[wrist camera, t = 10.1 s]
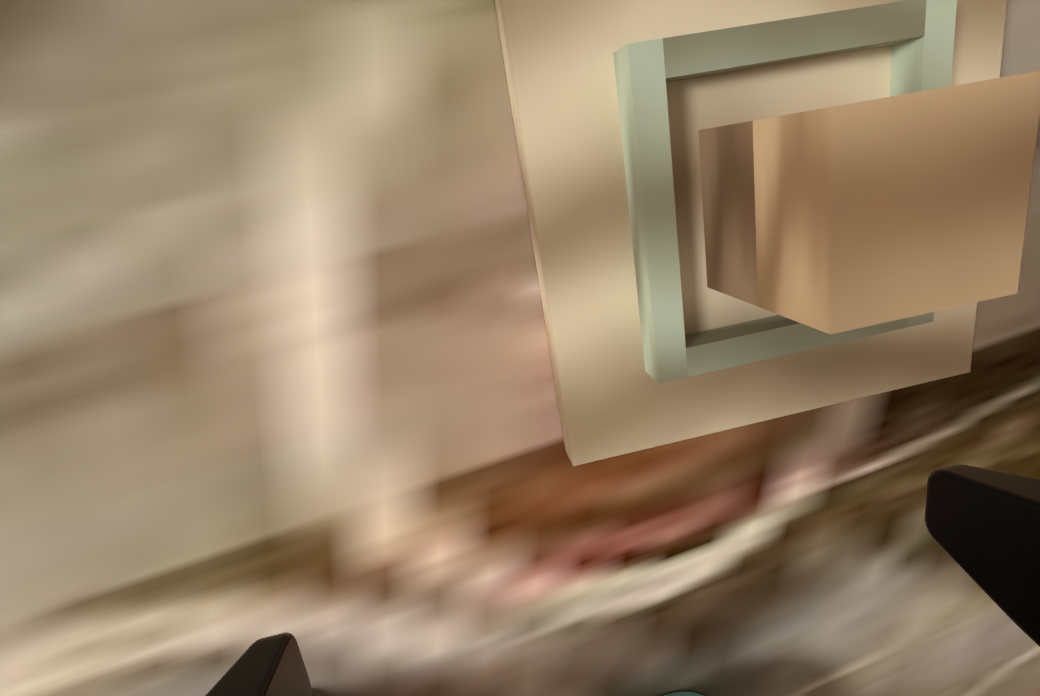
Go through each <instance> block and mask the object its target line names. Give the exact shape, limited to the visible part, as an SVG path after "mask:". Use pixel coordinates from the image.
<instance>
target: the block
mask: <svg viewBox="0 0 1040 696" xmlns="http://www.w3.org/2000/svg"><path fill="white" fill-rule="evenodd" d="M1039 115H1040V71H1036V72H1030V73H1024V74H1019V75H1013V76H1007V77H1001V78H995V79H990V80H984V81H978V82H972V83H967V84H961V85H955V86H949V87H943V88H938V89H932V90H926V91H920V92H914V93H909V94H903V95H897V96H891V97H885V98H880V99H874V100H868V101H862V102H856V103H851V104H845V105H839V106H833V107H828V108H822V109H816V110H810V111H805V112H799V113H793V114H788V115H782V116H776V117H771V118H765V119H759V120H753V121H748V122H742V123H736V124H731V125H725V126H719V127H714V128H708V129H702V130H698V133H699V150H700V168H701V185H702V203H703V220H704V238H705V255H706V273H707V287H708V288H711V289H713V290H716V291H718V292H721V293H724V294H726V295H729V296H731V297H734V298H737V299H739V300H742V301H744V302H747V303H750V304H752V305H755V306H757V307H760V308H763V309H765V310H768V311H770V312H773V313H776V314H778V315H781V316H783V317H786V318H789V319H791V320H794V321H796V322H799V323H802V324H804V325H807V326H809V327H812V328H814V329H817V330H820V331H822V332H825V333H827V334H830V335H831V334H835V333H840V332H844V331H849V330H853V329H858V328H863V327H867V326H872V325H876V324H881V323H885V322H890V321H894V320H899V319H903V318H908V317H913V316H917V315H922V314H926V313H931V312H935V311H940V310H944V309H949V308H953V307H958V306H963V305H967V304H972V303H976V302H981V301H985V300H990V299H994V298H999V297H1003V296H1008V295H1013V294H1017V292H1018V283H1019V275H1020V267H1021V259H1022V251H1023V243H1024V235H1025V227H1026V219H1027V211H1028V203H1029V195H1030V187H1031V179H1032V171H1033V163H1034V155H1035V147H1036V139H1037V131H1038V123H1039Z"/></svg>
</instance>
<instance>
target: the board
mask: <svg viewBox="0 0 1040 696" xmlns="http://www.w3.org/2000/svg"><path fill="white" fill-rule="evenodd" d="M1006 6H1007V0H495V7H496V13H497V19H498V26H499V32H500V38H501V45H502V51H503V57H504V64H505V70H506V76H507V83H508V89H509V95H510V102H511V108H512V114H513V121H514V127H515V133H516V140H517V146H518V152H519V159H520V165H521V171H522V178H523V184H524V191H525V197H526V203H527V210H528V216H529V222H530V229H531V235H532V241H533V248H534V254H535V260H536V267H537V273H538V279H539V286H540V292H541V298H542V305H543V311H544V317H545V324H546V330H547V336H548V343H549V349H550V356H551V362H552V368H553V375H554V381H555V387H556V394H557V400H558V406H559V413H560V419H561V425H562V432H563V438H564V444H565V451H566V452H567V454H568V456H569V458H570V460H571V462H572V464H573V466H576V465H580V464H584V463H588V462H593V461H597V460H601V459H605V458H610V457H614V456H618V455H622V454H626V453H631V452H635V451H639V450H643V449H648V448H652V447H656V446H660V445H664V444H669V443H673V442H677V441H681V440H685V439H690V438H694V437H698V436H702V435H707V434H711V433H715V432H719V431H723V430H728V429H732V428H736V427H740V426H745V425H749V424H753V423H757V422H761V421H766V420H770V419H774V418H778V417H782V416H787V415H791V414H795V413H799V412H804V411H808V410H812V409H816V408H820V407H825V406H829V405H833V404H837V403H842V402H846V401H850V400H854V399H858V398H863V397H867V396H871V395H875V394H879V393H884V392H888V391H892V390H896V389H901V388H905V387H909V386H913V385H917V384H922V383H926V382H930V381H934V380H939V379H943V378H947V377H951V376H955V375H960V374H964V373H968V372H970V369H971V359H972V349H973V339H974V329H975V319H976V309H977V302H976V303H972V304H967V305H963V306H958V307H953V308H949V309H944V310H940V311H935V312H931V313H926V314H922V315H917V316H913V317H908V318H903V319H899V320H894V321H890V322H885V323H881V324H876V325H872V326H867V327H863V328H858V329H853V330H849V331H844V332H840V333H835V334H831V335H830V334H827V333H825V332H822V331H820V330H817V329H814V328H812V327H809V326H807V325H804V324H802V323H799V322H796V321H794V320H791V319H789V318H786V317H783V316H781V315H778V314H776V313H773V312H770V311H768V310H765V309H763V308H760V307H757V306H755V305H752V304H750V303H747V302H744V301H742V300H739V299H737V298H734V297H731V296H729V295H726V294H724V293H721V292H718V291H716V290H713V289H711V288H708V287H707V273H706V255H705V238H704V220H703V203H702V185H701V168H700V150H699V133H698V130H702V129H708V128H714V127H719V126H725V125H731V124H736V123H742V122H748V121H753V120H759V119H765V118H771V117H776V116H782V115H788V114H793V113H799V112H805V111H810V110H816V109H822V108H828V107H833V106H839V105H845V104H851V103H856V102H862V101H868V100H874V99H880V98H885V97H891V96H897V95H903V94H909V93H914V92H920V91H926V90H932V89H938V88H943V87H949V86H955V85H961V84H967V83H972V82H978V81H984V80H990V79H995V78H999V77H1000V67H1001V57H1002V47H1003V37H1004V27H1005V17H1006Z"/></svg>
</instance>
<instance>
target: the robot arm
mask: <svg viewBox="0 0 1040 696" xmlns="http://www.w3.org/2000/svg"><path fill="white" fill-rule="evenodd" d="M925 523H926V526H927V529H928V531H929V532H930V534H931V536H932V537H933V538H934V539H935V540H936V541H937V542H938V543H939V544H940V545H941V547H942V548H943V549H944V550H945V551H946V552H947V553H948V554H949V555H950V556H951V557H952V558H953V559H954V560H955V561H956V562H957V563H958V564H959V565H960V566H961V567H962V568H963V570H964V571H965V572H966V573H967V574H968V575H969V576H970V577H971V578H972V579H973V580H974V581H975V582H976V583H977V584H978V585H979V586H980V587H981V588H982V589H983V590H984V591H985V592H986V594H987V595H988V596H989V597H990V598H991V599H992V600H993V601H994V602H995V603H996V604H997V605H998V606H999V607H1000V608H1001V609H1002V610H1003V611H1004V612H1005V613H1006V614H1007V615H1008V616H1009V617H1010V618H1011V619H1012V620H1013V621H1014V622H1015V623H1016V625H1017V626H1018V627H1019V628H1020V629H1021V630H1022V631H1024V632H1025V633H1026V634H1027V635H1028V636H1029V637H1030V638H1031V639H1032V640H1033V641H1034V642H1035V643H1036V644H1037V645H1039V646H1040V480H1039V479H1034V478H1029V477H1024V476H1019V475H1014V474H1008V473H1003V472H998V471H993V470H988V469H983V468H978V467H973V466H968V465H954V466H950V467H946V468H942V469H938V470H935V471H933V472H932V473H931V474H930V476H929V478H928V482H927V495H926V509H925ZM206 696H312V690H311V684H310V680H309V677H308V674H307V671H306V668H305V665H304V662H303V659H302V656H301V653H300V650H299V647H298V644H297V641H296V639H295V638H294V636H293V635H292V634H290V633H282V634H278V635H274V636H270V637H266V638H262V639H259V640H257V641H256V642H254V643H253V644H252V645H251V646H250V647H249V648H248V650H247V651H246V652H245V653H244V654H243V655H242V656H241V657H240V658H239V659H238V661H237V662H236V663H235V664H234V665H233V666H232V667H231V668H230V669H229V670H228V671H227V673H226V674H225V675H224V676H223V677H222V678H221V679H220V680H219V681H218V682H217V684H216V685H215V686H214V687H213V688H212V689H211V690H210V691H209V692H208V693H207V694H206Z"/></svg>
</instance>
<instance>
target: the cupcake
mask: <svg viewBox="0 0 1040 696" xmlns="http://www.w3.org/2000/svg"><path fill="white" fill-rule="evenodd" d="M663 696H704V695H701V694H698V693H694V692H674V693H670V694H666V695H663Z"/></svg>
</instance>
